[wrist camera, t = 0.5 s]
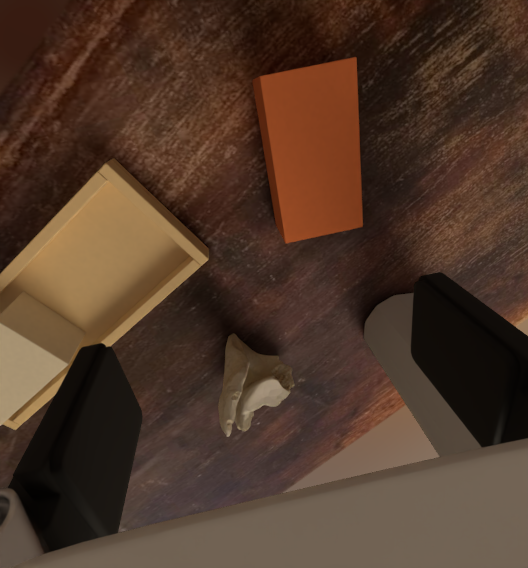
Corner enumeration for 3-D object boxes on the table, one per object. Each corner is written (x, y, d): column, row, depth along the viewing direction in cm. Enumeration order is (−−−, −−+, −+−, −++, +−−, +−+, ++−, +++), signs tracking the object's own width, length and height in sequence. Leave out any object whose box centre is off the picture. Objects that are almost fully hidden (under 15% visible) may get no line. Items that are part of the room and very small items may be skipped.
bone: (299, 406, 35) (257, 493, 26) (241, 388, 37) (185, 462, 28) (305, 332, 31) (259, 404, 23) (241, 316, 34) (178, 377, 25)
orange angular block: (252, 79, 23) (259, 75, 19) (334, 63, 23) (356, 56, 19) (275, 225, 27) (285, 243, 24) (343, 211, 27) (363, 227, 24)
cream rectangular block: (23, 290, 26) (-5, 319, 23) (86, 332, 29) (69, 364, 25) (-51, 366, 28) (-88, 403, 25) (13, 399, 31) (-13, 437, 27)
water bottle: (438, 336, 35) (823, 733, 13) (363, 362, 35) (616, 794, 13) (430, 257, 31) (991, 655, 9) (345, 288, 31) (678, 748, 9)
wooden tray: (113, 157, 24) (105, 162, 22) (209, 248, 27) (209, 259, 26) (-78, 358, 29) (-98, 376, 27) (26, 411, 32) (15, 430, 31)
